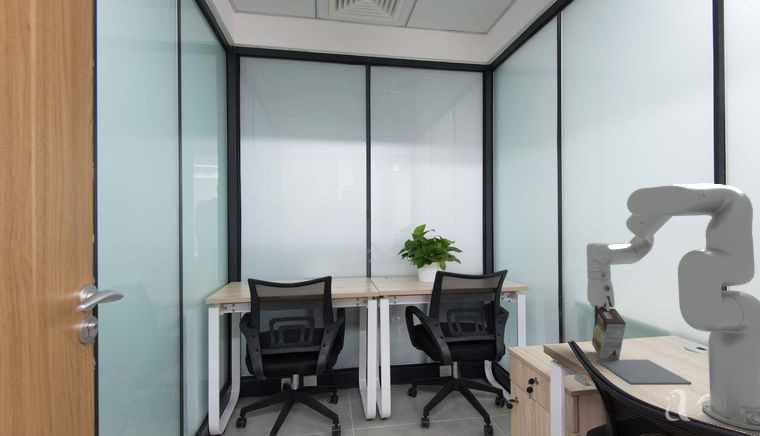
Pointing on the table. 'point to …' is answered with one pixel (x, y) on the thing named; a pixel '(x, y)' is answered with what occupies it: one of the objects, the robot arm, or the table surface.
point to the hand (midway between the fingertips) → (600, 324)
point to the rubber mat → (642, 372)
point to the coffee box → (608, 334)
